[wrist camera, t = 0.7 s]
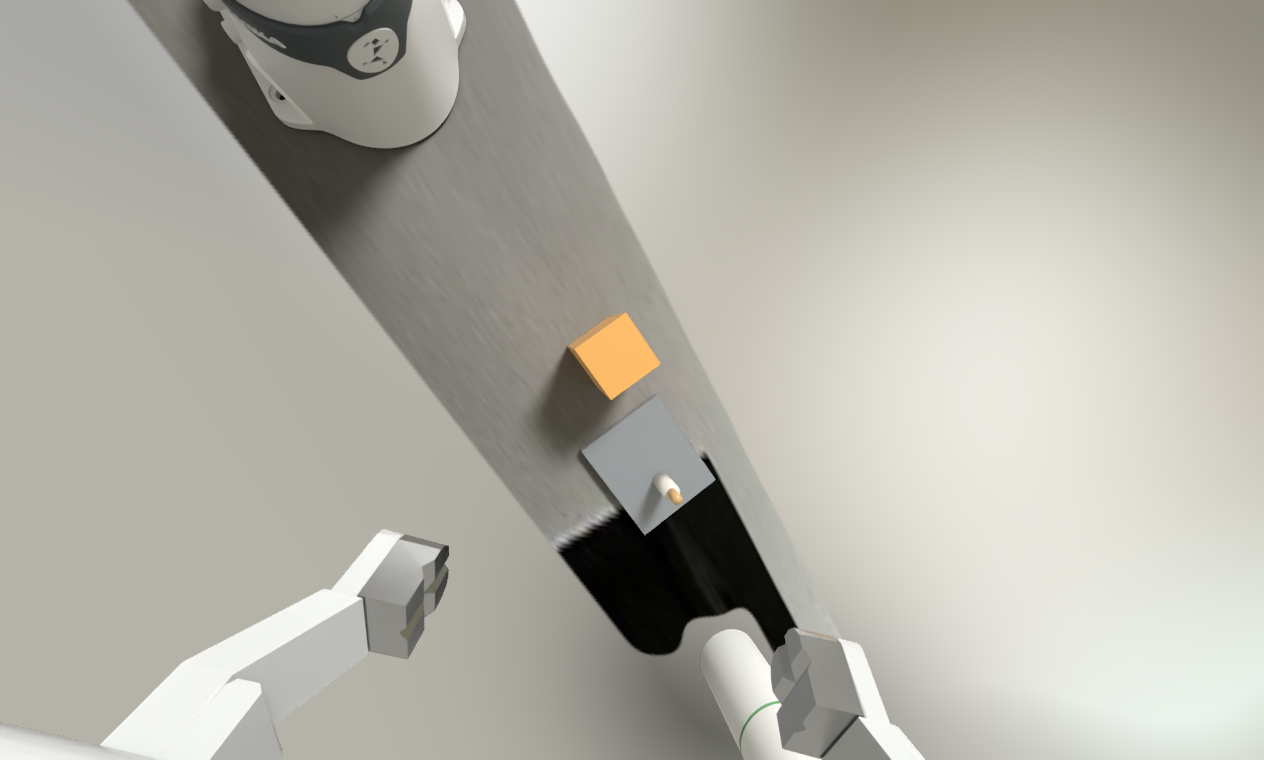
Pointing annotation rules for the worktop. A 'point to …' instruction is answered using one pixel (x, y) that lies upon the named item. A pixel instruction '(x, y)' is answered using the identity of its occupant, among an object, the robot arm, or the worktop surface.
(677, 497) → the tan-tipped white capsule
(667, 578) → the worktop surface
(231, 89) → the worktop surface
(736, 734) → the cylindrical container
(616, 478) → the plate
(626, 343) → the orange rectangular block
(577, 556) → the worktop surface
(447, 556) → the robot arm
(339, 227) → the worktop surface
